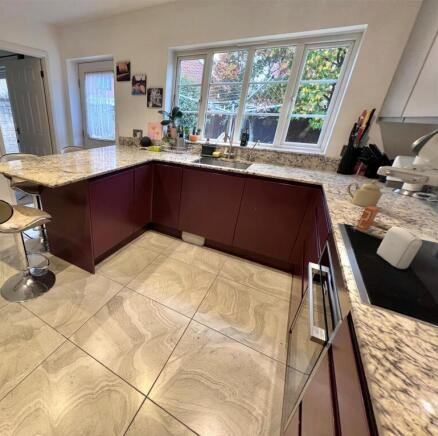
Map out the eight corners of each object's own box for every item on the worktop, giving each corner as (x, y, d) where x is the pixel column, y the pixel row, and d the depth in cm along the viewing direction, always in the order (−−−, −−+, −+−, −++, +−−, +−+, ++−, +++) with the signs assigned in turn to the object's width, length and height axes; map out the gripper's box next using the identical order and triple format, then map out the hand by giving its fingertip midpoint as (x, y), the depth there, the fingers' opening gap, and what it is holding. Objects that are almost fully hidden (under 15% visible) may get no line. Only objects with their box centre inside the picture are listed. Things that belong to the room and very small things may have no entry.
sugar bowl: (343, 203, 137) (354, 178, 130) (342, 198, 145) (352, 174, 139) (377, 209, 129) (390, 183, 123) (373, 203, 138) (385, 179, 131)
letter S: (369, 228, 103) (379, 208, 99) (363, 230, 101) (373, 210, 97) (361, 226, 106) (371, 205, 102) (355, 227, 104) (365, 207, 100)
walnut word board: (413, 236, 101) (415, 232, 100) (405, 239, 98) (407, 236, 97) (364, 219, 115) (366, 216, 114) (355, 222, 112) (357, 218, 111)
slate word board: (410, 245, 93) (413, 241, 93) (401, 249, 90) (404, 245, 89) (358, 226, 108) (360, 222, 107) (349, 229, 105) (351, 225, 104)
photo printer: (373, 252, 87) (389, 222, 82) (386, 253, 87) (403, 224, 81) (394, 268, 78) (413, 236, 73) (409, 270, 78) (429, 238, 72)
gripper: (388, 162, 111) (374, 163, 106) (452, 172, 95) (439, 175, 89) (382, 175, 114) (368, 177, 108) (443, 187, 98) (430, 190, 92)
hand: (400, 176), depth 99 cm, fingers open, 8 cm apart
